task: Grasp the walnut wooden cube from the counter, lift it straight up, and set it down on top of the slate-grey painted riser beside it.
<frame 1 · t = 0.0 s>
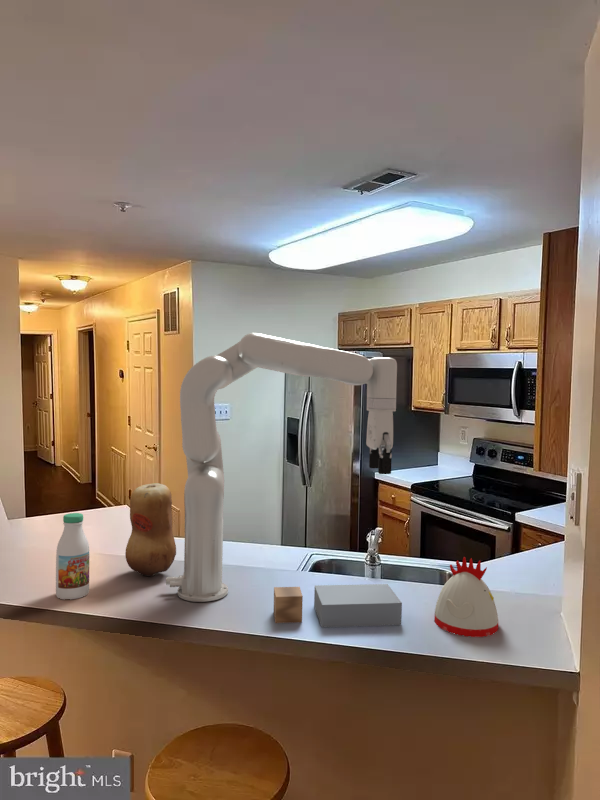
hand: (379, 470, 148), 31 cm above the countertop, tool pointing down, fingers open, 9 cm apart
kitchen timer: (465, 624, 128), on the countertop
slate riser: (356, 615, 132), on the countertop
butternut squash: (150, 575, 157), on the countertop
walnut cube: (287, 617, 130), on the countertop
milk bottle: (72, 595, 141), on the countertop
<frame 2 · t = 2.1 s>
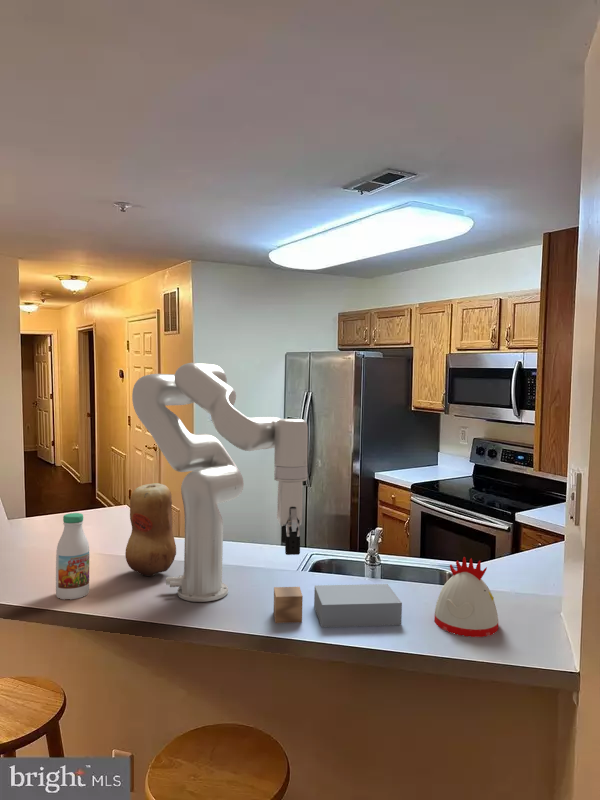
hand: (290, 548, 129), 16 cm above the countertop, tool pointing down, fingers open, 9 cm apart
nothing on the countertop moved.
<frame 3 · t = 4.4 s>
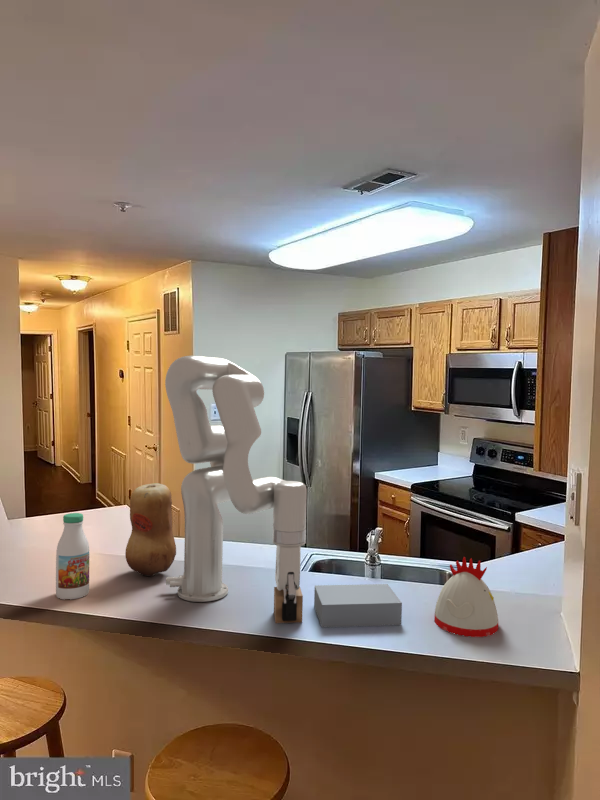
hand: (287, 613, 130), 1 cm above the countertop, tool pointing down, fingers closed on walnut cube, 6 cm apart
walnut cube: (287, 617, 130), on the countertop, touching gripper
everything else where it was.
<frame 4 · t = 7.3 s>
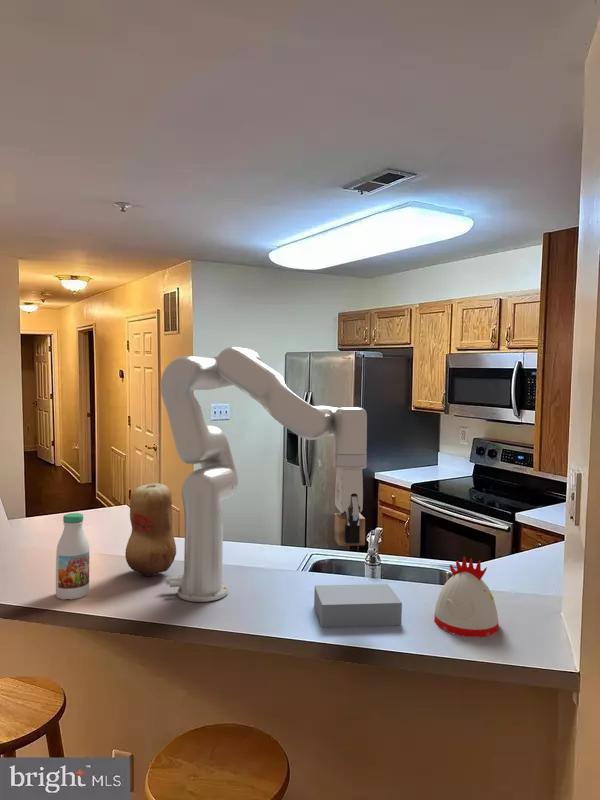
hand: (349, 538, 131), 18 cm above the countertop, tool pointing down, fingers closed on walnut cube, 6 cm apart
walnut cube: (349, 541, 131), point 17 cm above the countertop, touching gripper
everything else where it was.
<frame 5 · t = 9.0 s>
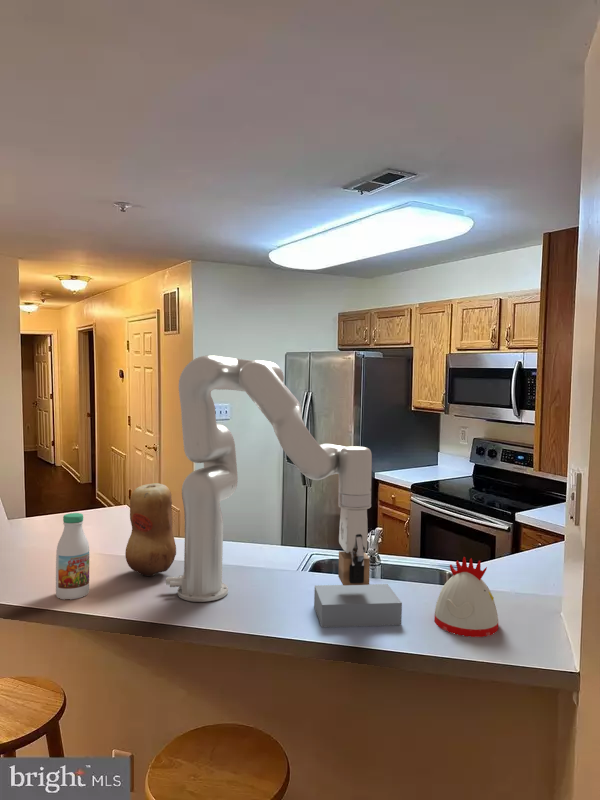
hand: (353, 577, 131), 9 cm above the countertop, tool pointing down, fingers closed on walnut cube, 6 cm apart
walnut cube: (353, 580, 131), point 8 cm above the countertop, touching gripper
everything else where it was.
when the fingers open (7 cm above the countertop, at t = 10.3 s): walnut cube drops 1 cm, resting on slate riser.
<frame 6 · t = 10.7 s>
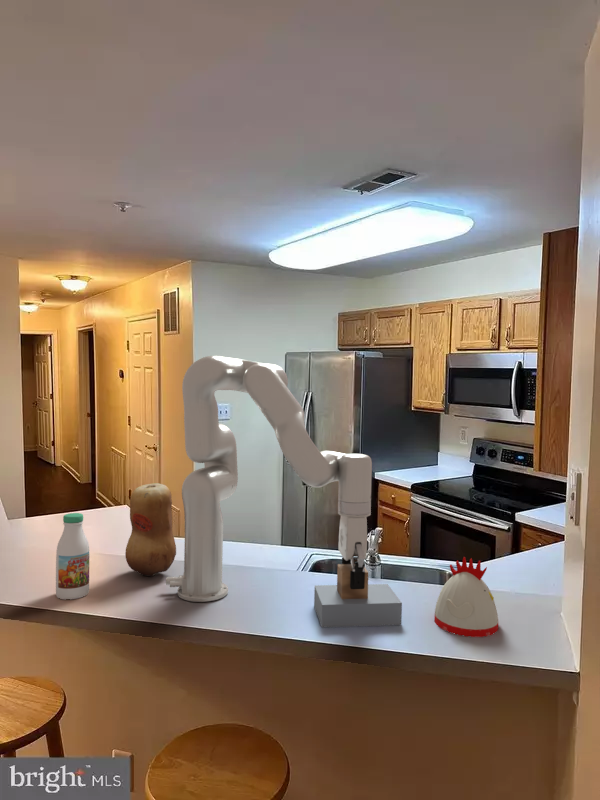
hand: (352, 581, 131), 8 cm above the countertop, tool pointing down, fingers open, 9 cm apart
walnut cube: (352, 593, 131), point 5 cm above the countertop, touching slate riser
everything else where it was.
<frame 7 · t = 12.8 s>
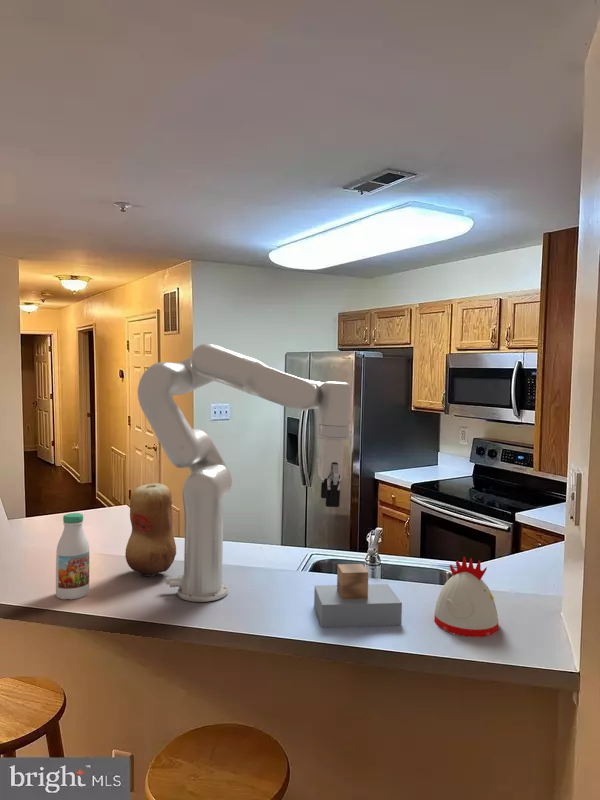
hand: (329, 502, 139), 25 cm above the countertop, tool pointing down, fingers open, 9 cm apart
nothing on the countertop moved.
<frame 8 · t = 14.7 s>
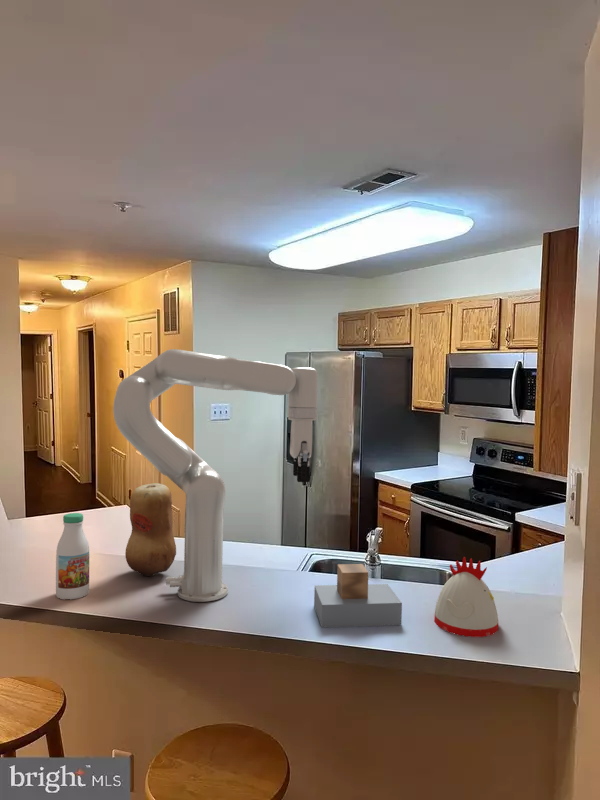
hand: (301, 478, 150), 28 cm above the countertop, tool pointing down, fingers open, 9 cm apart
nothing on the countertop moved.
at the end: walnut cube inside the target area on the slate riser (1.1 cm from its centre), point 5.0 cm above the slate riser's base; walnut cube tilted 0°; the gripper is holding nothing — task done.
